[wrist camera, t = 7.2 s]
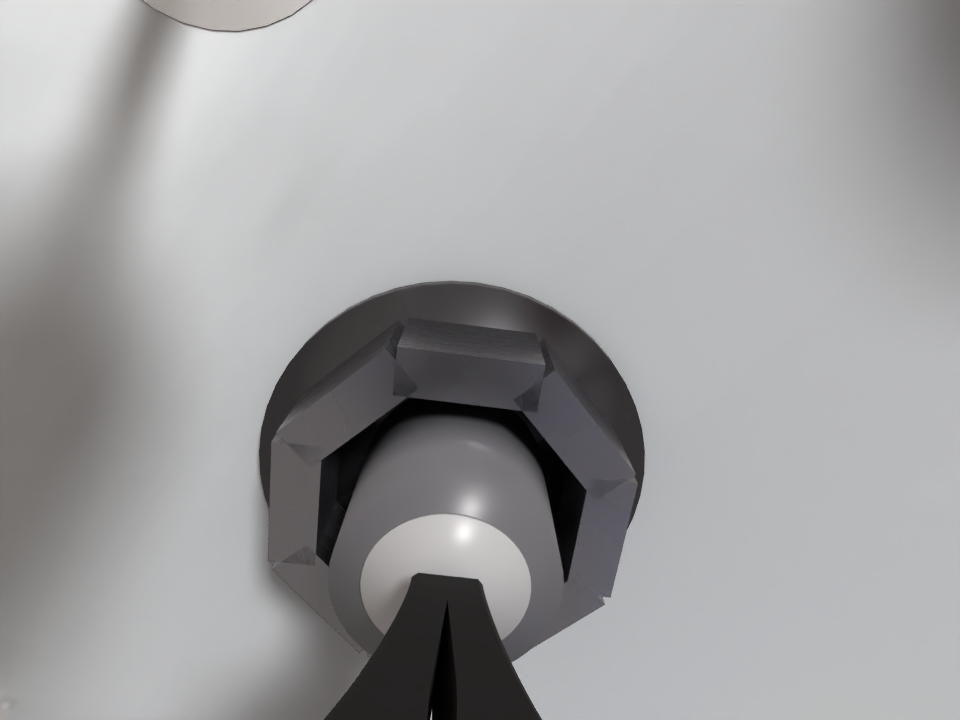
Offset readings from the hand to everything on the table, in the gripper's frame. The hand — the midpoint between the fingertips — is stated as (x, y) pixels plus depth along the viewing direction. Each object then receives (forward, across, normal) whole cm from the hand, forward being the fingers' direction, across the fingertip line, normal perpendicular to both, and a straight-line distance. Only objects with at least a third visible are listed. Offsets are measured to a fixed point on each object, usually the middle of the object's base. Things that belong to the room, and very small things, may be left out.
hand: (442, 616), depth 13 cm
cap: (+6, 0, 0) cm, 6 cm away
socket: (+6, 0, 0) cm, 6 cm away
